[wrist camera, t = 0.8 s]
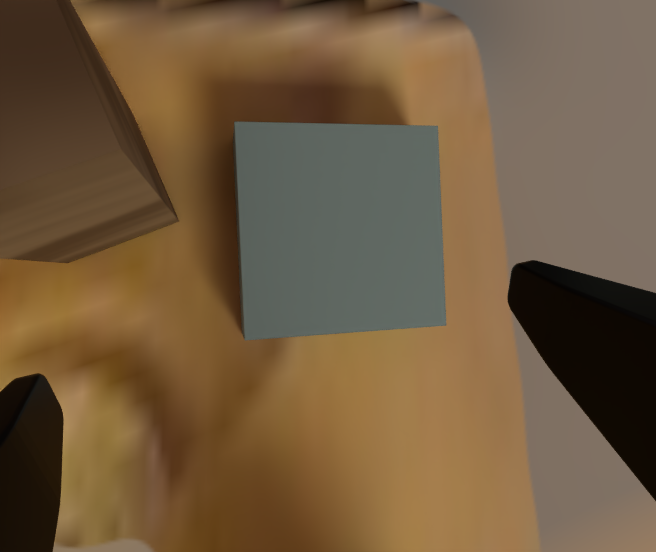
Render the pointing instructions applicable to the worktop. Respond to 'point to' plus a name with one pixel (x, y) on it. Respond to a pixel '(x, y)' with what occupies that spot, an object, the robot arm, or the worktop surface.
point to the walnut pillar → (67, 143)
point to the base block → (338, 228)
